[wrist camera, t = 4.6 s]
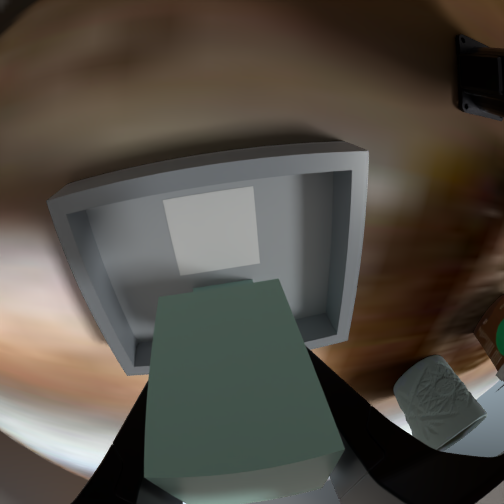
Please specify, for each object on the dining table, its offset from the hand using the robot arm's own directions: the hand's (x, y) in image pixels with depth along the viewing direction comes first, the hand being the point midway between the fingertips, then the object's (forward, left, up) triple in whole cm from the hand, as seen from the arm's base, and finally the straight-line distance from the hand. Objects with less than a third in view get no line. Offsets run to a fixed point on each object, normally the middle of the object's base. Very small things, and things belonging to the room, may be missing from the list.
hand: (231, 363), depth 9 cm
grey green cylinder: (-24, +26, -10) cm, 37 cm away
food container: (-37, +17, -10) cm, 42 cm away
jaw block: (0, 0, -2) cm, 2 cm away
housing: (0, +2, -10) cm, 11 cm away
